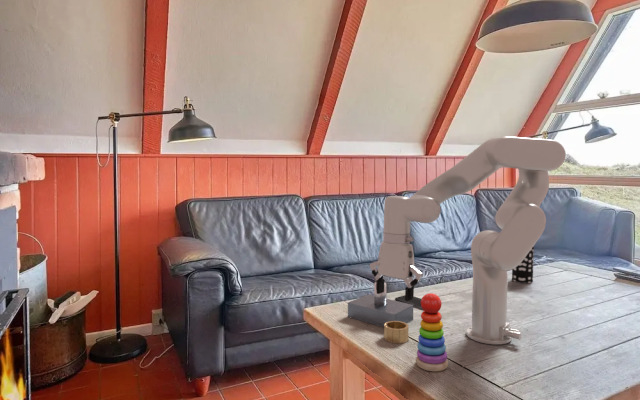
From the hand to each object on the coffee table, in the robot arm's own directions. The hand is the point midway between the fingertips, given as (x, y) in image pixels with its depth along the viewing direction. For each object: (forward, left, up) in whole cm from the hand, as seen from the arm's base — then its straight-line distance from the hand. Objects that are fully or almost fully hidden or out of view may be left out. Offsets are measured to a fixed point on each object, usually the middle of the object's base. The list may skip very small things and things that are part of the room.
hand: (394, 296), depth 127 cm
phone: (+11, -34, -13) cm, 38 cm away
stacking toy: (-17, +8, -13) cm, 23 cm away
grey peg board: (+12, -12, -13) cm, 21 cm away
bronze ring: (-1, -1, -13) cm, 13 cm away
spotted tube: (-9, -92, -13) cm, 93 cm away
